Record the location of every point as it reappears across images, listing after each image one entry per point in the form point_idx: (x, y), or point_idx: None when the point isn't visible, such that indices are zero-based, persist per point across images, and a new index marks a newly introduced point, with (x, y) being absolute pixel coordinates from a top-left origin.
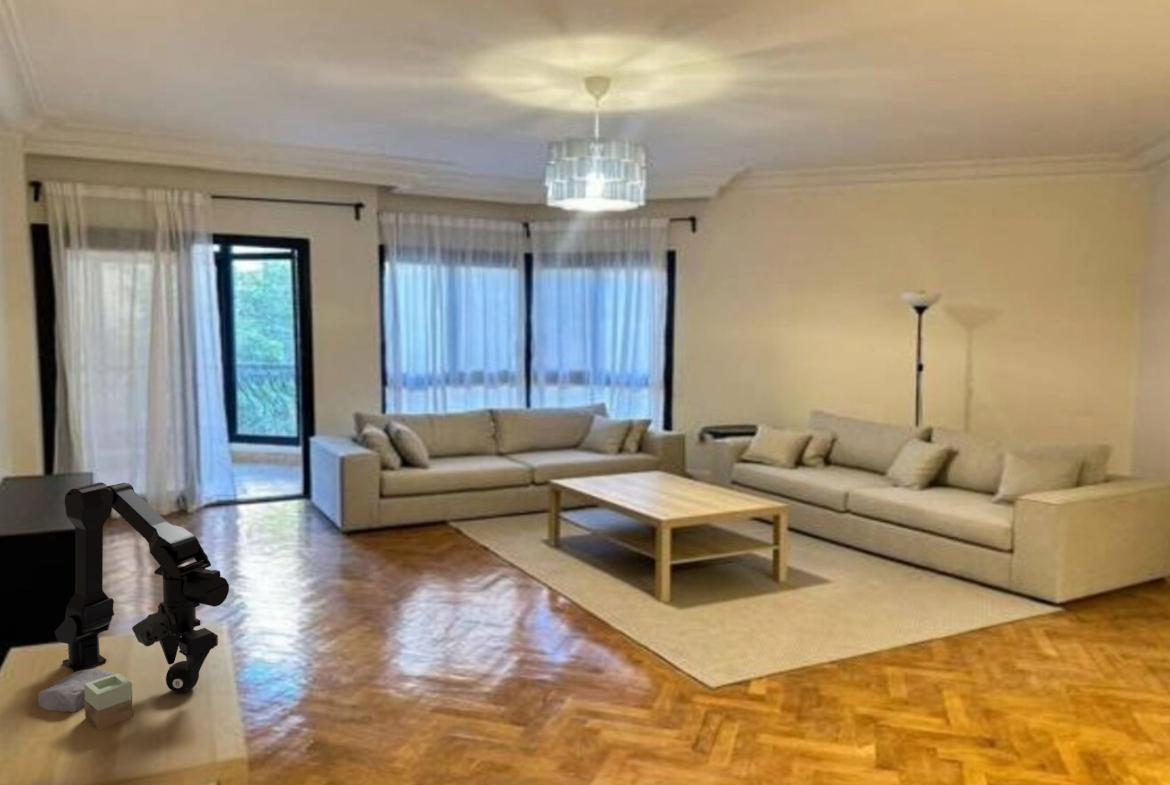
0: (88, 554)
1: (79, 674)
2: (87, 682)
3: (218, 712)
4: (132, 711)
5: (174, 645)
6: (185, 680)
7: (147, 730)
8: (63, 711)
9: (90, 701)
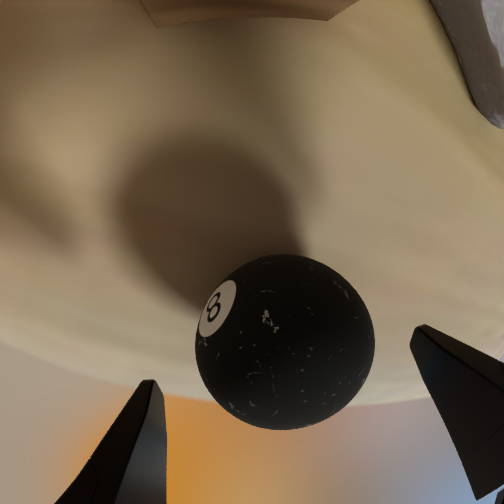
0: None
1: None
2: (501, 2)
3: (20, 327)
4: (152, 17)
5: (459, 419)
6: (196, 349)
7: (3, 79)
8: None
9: None
